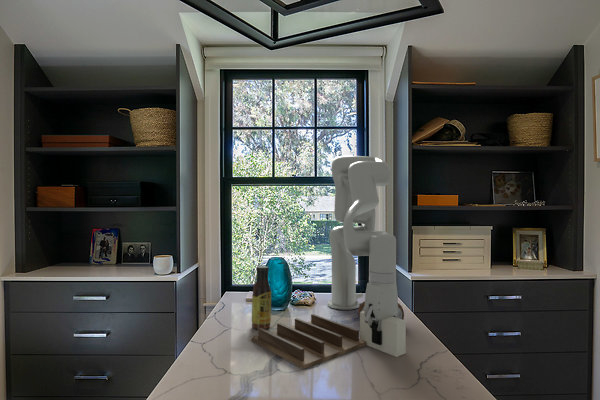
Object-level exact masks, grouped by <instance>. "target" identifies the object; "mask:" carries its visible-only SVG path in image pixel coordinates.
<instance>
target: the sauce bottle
mask: <svg viewBox="0 0 600 400" xmlns="http://www.w3.org/2000/svg"><path fill="white" fill-rule="evenodd" d="M269 269H270V268H269V266H266V265H258V266H256V281H255V283H254V285H253V288H252V296H251V297H252V299H251V300H252V301H251V302H252V303H251V326H252V328H253V329H255V330H258V328H263V329H265V330H267V329H268V328H269V327H270V326H271V322H272V321H271V320H272V319H271V318H272V289H271V286H270V283H269V282H270V281H269V272H270V271H269Z"/></svg>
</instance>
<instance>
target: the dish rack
mask: <svg viewBox="0 0 600 400" xmlns="http://www.w3.org/2000/svg"><path fill="white" fill-rule="evenodd" d="M250 340H251V342H253V343H255V344H256V345H259V346H260V347H262V348H264V349H266V350H267V351H270V352H271V353H273V354H275V355H276V356H278V357H281V358H282V359H284V360H286V361H288V362H289V363H291V364H293V365H295V366H297V367H299V368H301V369H303V370H305V369H308V368H310V367H313V366H315V365H318V364H320V363H323V362H326V361H329V360H332V359H334V358H336V357H339V356H343V355H345V354H347V353H350V352H353V351H355V350H357V349H361V348H363V347H366V346H367V342H366V341H363V340H360V329H357V328H353V327H351V326H348V325H346V324H343V323H339V322H337V321H334V320H331V319H329V318H326V317H323V316H320V315H317V314H315V313H312V314H310V321H306V320H303V319H302V318H301V319H300V318H297V317H296V318H294V325H291V326H289V325H286V324H283V323H282V322H277V323H276V330H273V331H268V330H267V329H263V328H258V329H257V335H256V336H255V335H254V336H252V337H251V338H250Z"/></svg>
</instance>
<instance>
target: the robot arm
mask: <svg viewBox="0 0 600 400" xmlns="http://www.w3.org/2000/svg"><path fill="white" fill-rule="evenodd" d="M330 167H331V168H330V169H331V175H332V176H331V177H332V180H333V183H334V186H335V187H334V189H335V190H334V208H333V209H334V213H333V214H334V219H335V220H336V222H338V223H341V224H342V225H338V226H334V227H332V228H331V230H330V231H329V244H330V252H331V299H329V300H328V301H327V306H328V307H329V308H332V309H335V310H341V311H349V310H355V309H359V306H360V305H361V304H360V302H359V299H361V298H363V297H364V301H365V306H364V315H365V317H366V318H365V322H366V323H367V324H368V325H369V326H370V328H371V329H372V342H373V343H375V344H378V345H382V331H381V330H380V329H381V321H382V319H385V318H388V317H391V316H392V317H396V316H397V314H398V303H399V298H398V297H399V296H398V295H399V294H398V286H397V239H396V238H397V237H396V236H395V235H394V234H390V233H388V232H387V231H385V230H383V231H382V230H375V229H376V228H375V227H376V207H378V205H379V202H380V199H379V193H378V189H377V187H386V186H388V185H389V184H390V181H391V179H392V172H391V169H390V166H389V164H388V163H387V162H386V161H385V160H382V159H380V158H379V157H377V156H371V155H370V156H365V155H363V156H361V155H340V156H337V157H336V156H335V158H333V160H332V161H331V166H330ZM354 224H361V225H354ZM354 256H355V257H362V256H363V257H365V256H366V257H368V282H367V284H366V289H365V295H364V294H363V293H362V292H359V293H357V292H356V289H357V288H356V287H357V286H356V284H357V283H356V282H357V281H356V280H357V278H356V277H357V275H356V274H357V273H356V272H357V267H356V266H357V265H356V264H357V262H356V259H355V257H354ZM375 321H377V324H376V323H375Z"/></svg>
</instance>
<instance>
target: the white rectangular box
mask: <svg viewBox="0 0 600 400" xmlns="http://www.w3.org/2000/svg"><path fill="white" fill-rule="evenodd" d="M365 318H366V317H365V315H364V311H362V312H360V317H359V339H360V340H363V341H366V342H367V345H366V346H368V347H370V348H373V349H375V350H378V351H381V352H383V353H385V354H388V355H390V356H392V357H396V358H398V357H400V356H402V355H405V354H406V352H407V349H406V347H407V346H406V344H407V340H406V339H407V331H406V330H407V320H406V319H403V320H402V319H399V318H396V317H392V316H391V317H388V318H385V319H382V321H381V329H380V330H381V331H382V345H378V344H375V343H373V342H372V329H371V328H370V326H369V325H368V324H367V323H366V322H365ZM375 323H376V324H377V321H375Z"/></svg>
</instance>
